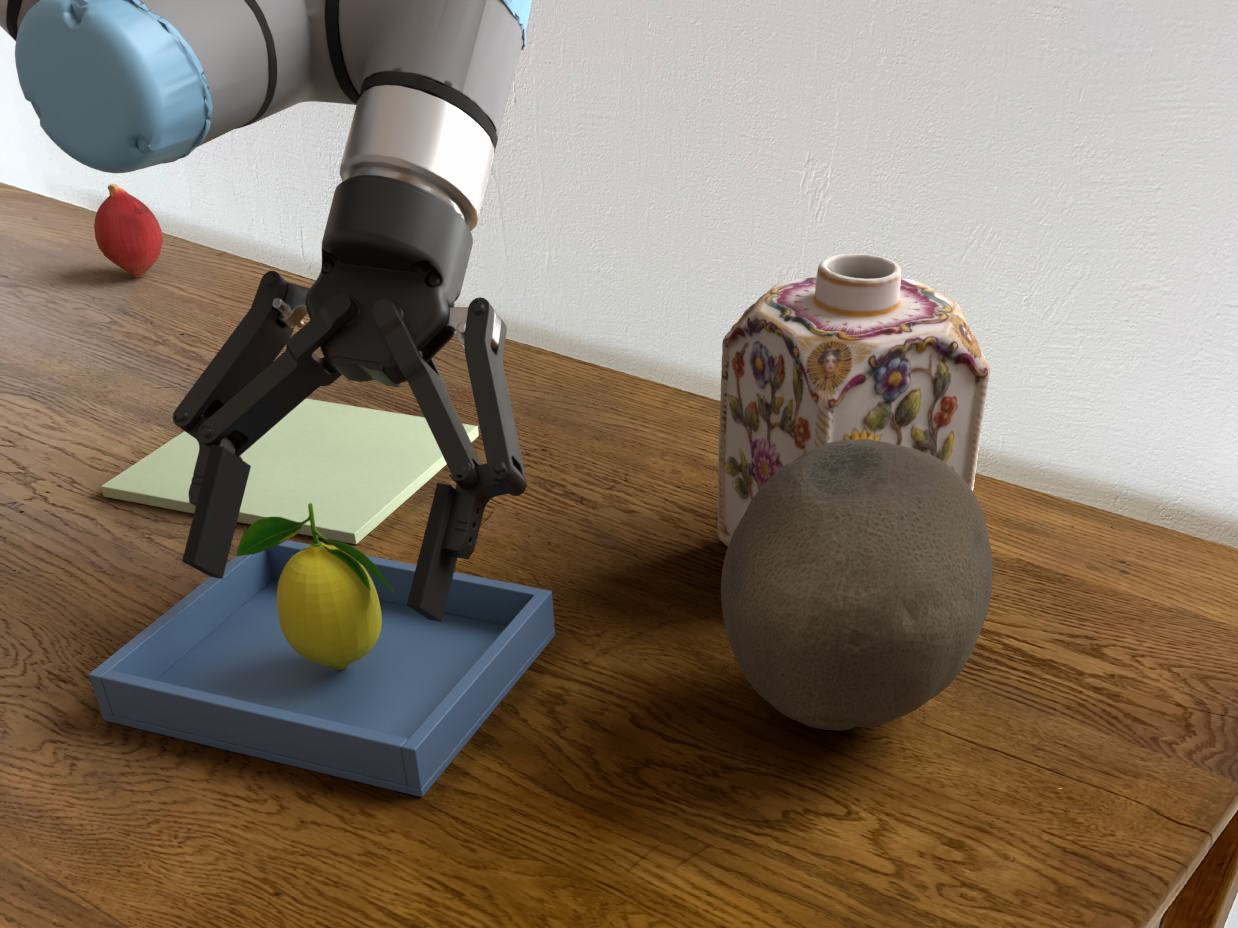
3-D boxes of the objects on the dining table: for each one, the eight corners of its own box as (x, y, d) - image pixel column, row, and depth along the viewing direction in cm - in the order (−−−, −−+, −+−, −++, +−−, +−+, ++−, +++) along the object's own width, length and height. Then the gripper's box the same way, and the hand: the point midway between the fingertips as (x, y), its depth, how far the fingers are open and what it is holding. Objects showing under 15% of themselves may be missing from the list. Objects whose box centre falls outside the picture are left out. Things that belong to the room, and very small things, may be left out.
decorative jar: (712, 540, 89) (717, 250, 77) (861, 502, 93) (888, 221, 81) (807, 624, 81) (830, 316, 69) (965, 579, 85) (1013, 280, 73)
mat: (103, 497, 94) (100, 486, 94) (250, 399, 107) (247, 388, 106) (356, 545, 89) (354, 533, 88) (479, 436, 101) (478, 425, 101)
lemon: (261, 663, 77) (222, 499, 71) (350, 627, 80) (321, 466, 74) (323, 713, 74) (287, 546, 67) (413, 674, 77) (388, 509, 70)
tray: (103, 720, 74) (87, 674, 72) (271, 578, 86) (261, 534, 84) (422, 797, 69) (414, 750, 67) (555, 635, 81) (552, 590, 79)
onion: (155, 262, 131) (133, 171, 125) (181, 277, 127) (159, 184, 122) (97, 275, 128) (71, 182, 123) (121, 291, 125) (97, 196, 119)
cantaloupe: (660, 708, 75) (658, 447, 65) (841, 622, 82) (865, 373, 72) (843, 833, 67) (873, 558, 57) (1027, 726, 74) (1083, 463, 64)
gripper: (642, 270, 73) (548, 651, 73) (246, 224, 80) (157, 574, 79) (601, 190, 66) (496, 612, 66) (168, 146, 72) (70, 531, 72)
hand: (310, 592), depth 72 cm, fingers open, 13 cm apart
